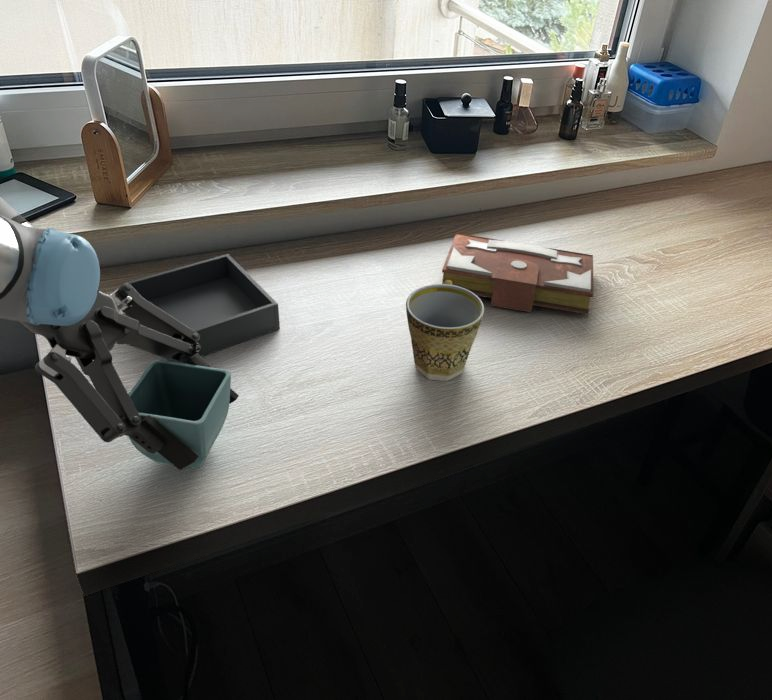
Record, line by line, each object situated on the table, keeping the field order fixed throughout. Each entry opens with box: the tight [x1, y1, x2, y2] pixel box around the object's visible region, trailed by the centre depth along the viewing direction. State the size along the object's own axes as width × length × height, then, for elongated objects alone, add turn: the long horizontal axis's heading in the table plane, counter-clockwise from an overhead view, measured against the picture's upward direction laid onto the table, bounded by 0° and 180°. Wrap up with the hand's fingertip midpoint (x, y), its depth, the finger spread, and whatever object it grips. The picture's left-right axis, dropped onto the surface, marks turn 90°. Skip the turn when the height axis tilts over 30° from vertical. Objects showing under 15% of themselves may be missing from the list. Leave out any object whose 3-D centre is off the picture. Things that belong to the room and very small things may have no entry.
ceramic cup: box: [405, 280, 485, 382], centre depth 96 cm, size 13×10×10 cm
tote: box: [124, 253, 281, 362], centre depth 100 cm, size 15×15×4 cm
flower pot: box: [127, 359, 232, 469], centre depth 78 cm, size 9×9×9 cm
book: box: [441, 232, 594, 315], centre depth 114 cm, size 23×16×5 cm
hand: (210, 431), depth 78 cm, fingers closed on flower pot, 9 cm apart
